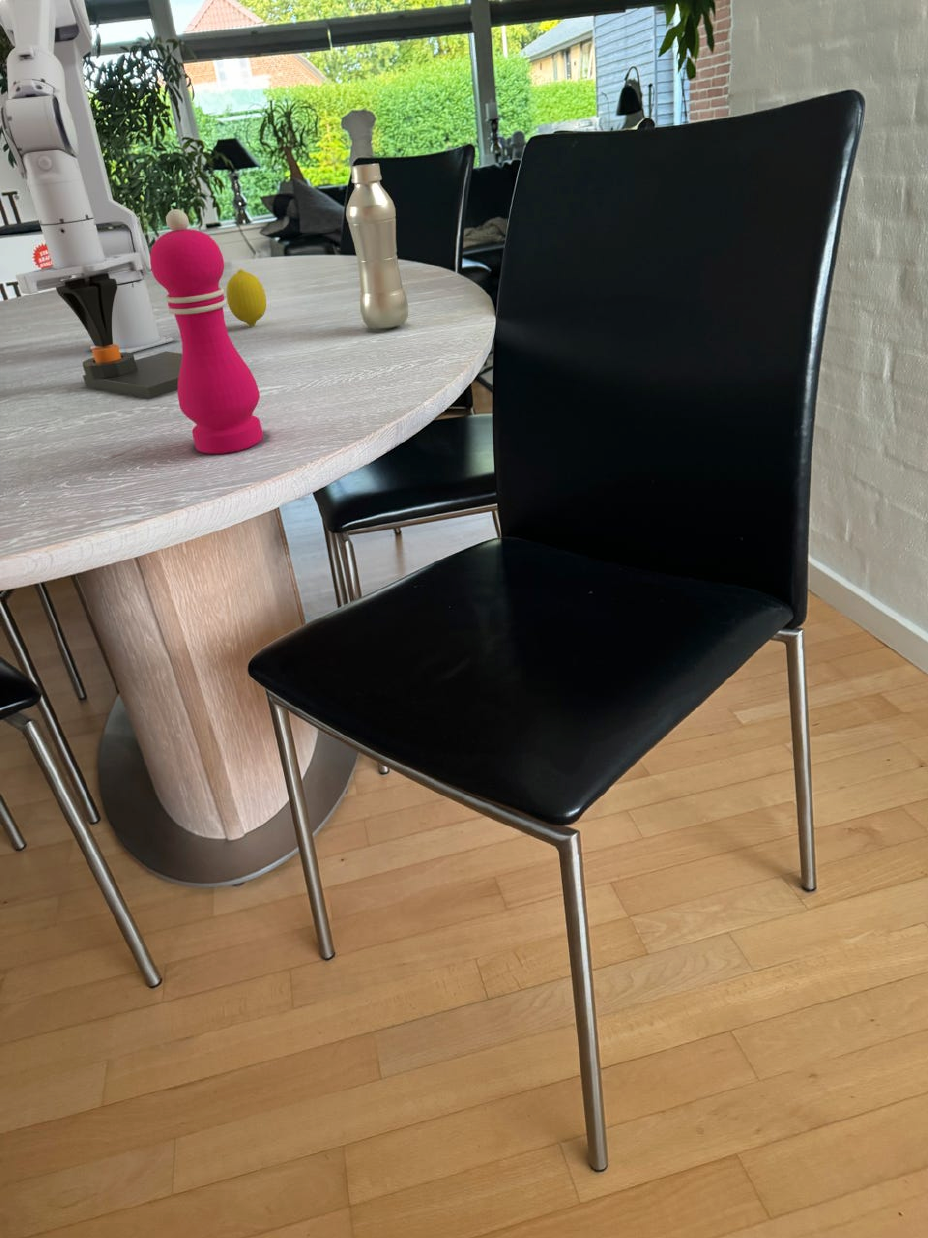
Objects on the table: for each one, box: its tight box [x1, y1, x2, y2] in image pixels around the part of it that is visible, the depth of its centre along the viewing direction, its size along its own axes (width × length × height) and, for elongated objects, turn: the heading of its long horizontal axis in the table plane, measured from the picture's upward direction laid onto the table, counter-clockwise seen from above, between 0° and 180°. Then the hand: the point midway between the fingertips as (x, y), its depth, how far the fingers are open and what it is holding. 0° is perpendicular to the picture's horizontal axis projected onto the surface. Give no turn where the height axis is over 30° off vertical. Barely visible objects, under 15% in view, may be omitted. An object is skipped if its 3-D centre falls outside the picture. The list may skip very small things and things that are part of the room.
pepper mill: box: [149, 208, 264, 455], centre depth 76 cm, size 7×7×20 cm
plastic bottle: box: [345, 163, 409, 330], centre depth 114 cm, size 6×7×20 cm
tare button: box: [91, 344, 121, 363], centre depth 104 cm, size 3×3×2 cm
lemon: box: [226, 269, 267, 327], centre depth 127 cm, size 6×6×8 cm
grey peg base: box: [82, 351, 182, 400], centre depth 105 cm, size 14×12×3 cm
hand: (104, 344), depth 104 cm, fingers closed
